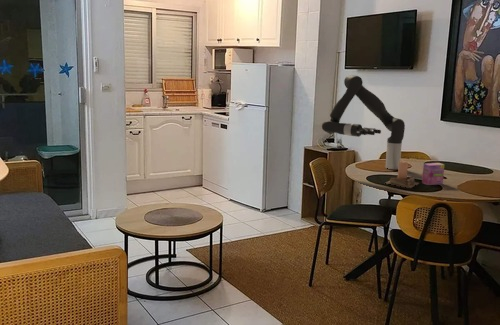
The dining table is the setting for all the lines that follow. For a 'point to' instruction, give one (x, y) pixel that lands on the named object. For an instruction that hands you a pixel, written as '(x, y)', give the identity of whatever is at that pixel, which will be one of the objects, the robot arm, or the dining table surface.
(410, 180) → the keeper cradle
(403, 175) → the pivot pin
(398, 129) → the robot arm
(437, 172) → the box
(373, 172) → the dining table surface
